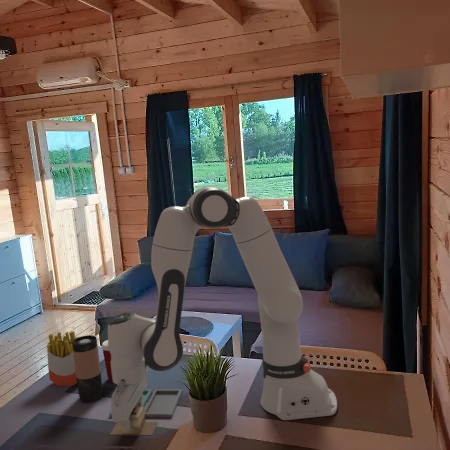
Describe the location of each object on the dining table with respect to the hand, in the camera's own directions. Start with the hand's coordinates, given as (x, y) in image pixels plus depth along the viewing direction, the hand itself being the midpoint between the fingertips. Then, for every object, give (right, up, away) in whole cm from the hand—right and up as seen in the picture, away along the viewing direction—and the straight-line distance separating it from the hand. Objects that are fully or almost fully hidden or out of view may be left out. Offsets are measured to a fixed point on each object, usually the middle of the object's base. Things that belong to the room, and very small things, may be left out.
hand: (133, 418), depth 124 cm
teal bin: (-3, -2, +13) cm, 14 cm away
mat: (0, -4, +1) cm, 4 cm away
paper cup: (-12, 0, +31) cm, 33 cm away
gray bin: (+7, -1, +12) cm, 14 cm away
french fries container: (-29, -1, +31) cm, 43 cm away
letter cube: (0, -3, 0) cm, 3 cm away
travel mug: (-18, -2, +19) cm, 26 cm away
